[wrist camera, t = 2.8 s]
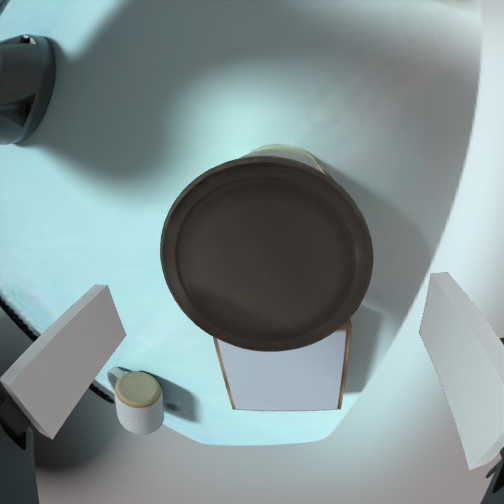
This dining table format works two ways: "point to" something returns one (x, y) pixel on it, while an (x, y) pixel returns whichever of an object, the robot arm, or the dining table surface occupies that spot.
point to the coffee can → (267, 251)
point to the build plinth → (287, 375)
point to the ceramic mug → (137, 400)
